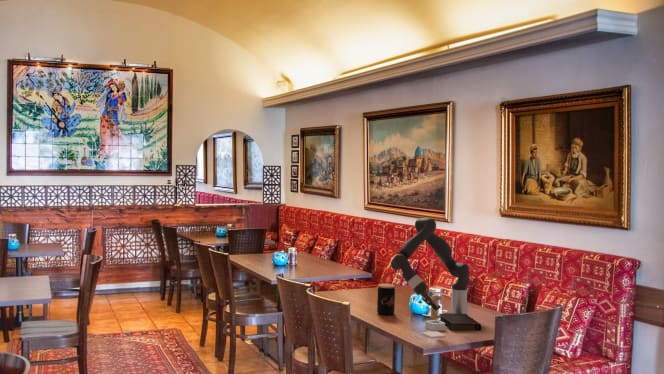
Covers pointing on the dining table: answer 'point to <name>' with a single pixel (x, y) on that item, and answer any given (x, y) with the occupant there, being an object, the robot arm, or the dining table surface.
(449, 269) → the robot arm
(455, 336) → the dining table surface
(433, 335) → the ceramic pad
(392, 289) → the coffee jar
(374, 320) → the dining table surface
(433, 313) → the crook peg
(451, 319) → the diary
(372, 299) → the dining table surface
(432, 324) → the socket block
